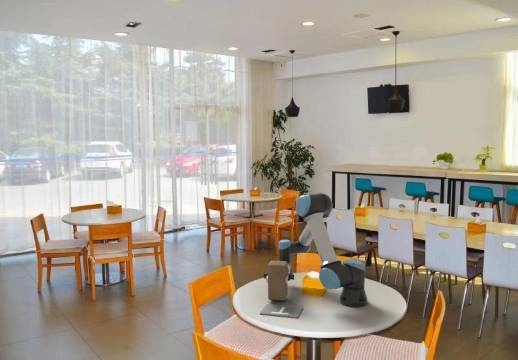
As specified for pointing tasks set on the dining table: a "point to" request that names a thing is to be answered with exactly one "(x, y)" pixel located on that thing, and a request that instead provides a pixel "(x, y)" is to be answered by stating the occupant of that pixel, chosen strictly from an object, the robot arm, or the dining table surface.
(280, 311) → the letter board
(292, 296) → the dining table surface
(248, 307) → the dining table surface
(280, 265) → the block
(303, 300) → the dining table surface
